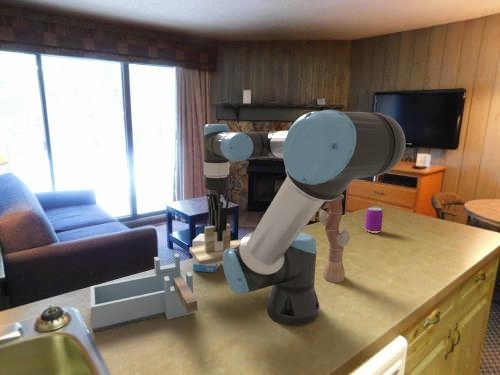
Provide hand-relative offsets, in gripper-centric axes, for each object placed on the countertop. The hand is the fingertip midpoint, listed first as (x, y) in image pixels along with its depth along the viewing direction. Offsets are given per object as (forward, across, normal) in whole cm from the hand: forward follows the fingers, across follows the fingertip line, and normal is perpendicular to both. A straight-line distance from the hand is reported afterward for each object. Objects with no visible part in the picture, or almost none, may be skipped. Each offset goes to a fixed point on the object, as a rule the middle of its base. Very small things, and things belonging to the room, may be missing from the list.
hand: (217, 248), depth 104 cm
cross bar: (+5, -16, +15) cm, 23 cm away
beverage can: (+14, +21, -90) cm, 93 cm away
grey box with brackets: (+14, -2, +24) cm, 28 cm away
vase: (+14, -9, -39) cm, 42 cm away
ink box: (+14, +17, -2) cm, 22 cm away
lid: (+2, 0, -5) cm, 5 cm away
